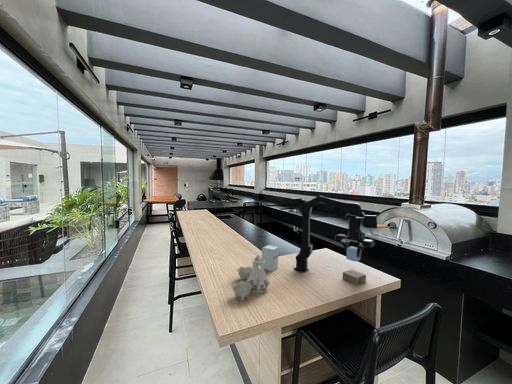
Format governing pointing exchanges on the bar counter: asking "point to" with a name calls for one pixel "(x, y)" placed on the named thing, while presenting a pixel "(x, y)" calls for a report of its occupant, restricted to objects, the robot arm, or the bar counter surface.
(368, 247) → the robot arm
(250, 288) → the grey lumpy piece
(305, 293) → the bar counter surface
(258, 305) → the bar counter surface
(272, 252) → the supplement box
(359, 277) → the walnut block
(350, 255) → the slate block
